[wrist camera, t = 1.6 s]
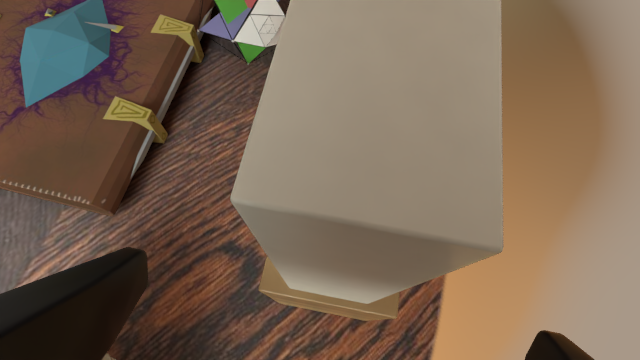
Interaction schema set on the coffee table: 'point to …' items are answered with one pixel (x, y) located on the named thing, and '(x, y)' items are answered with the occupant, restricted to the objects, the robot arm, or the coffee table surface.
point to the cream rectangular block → (377, 145)
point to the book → (89, 92)
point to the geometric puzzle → (247, 24)
